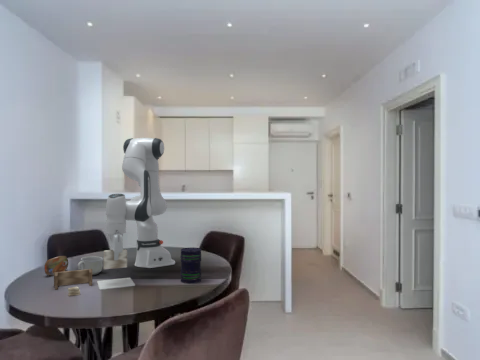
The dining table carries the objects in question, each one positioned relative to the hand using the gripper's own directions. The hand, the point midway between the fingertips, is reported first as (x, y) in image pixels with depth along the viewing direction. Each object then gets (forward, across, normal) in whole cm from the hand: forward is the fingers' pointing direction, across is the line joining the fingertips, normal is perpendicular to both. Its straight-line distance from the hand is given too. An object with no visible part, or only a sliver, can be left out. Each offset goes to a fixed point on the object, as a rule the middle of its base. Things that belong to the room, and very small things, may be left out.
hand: (115, 259), depth 167 cm
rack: (+12, +5, +17) cm, 21 cm away
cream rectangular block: (+4, 0, 0) cm, 4 cm away
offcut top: (+10, -9, +18) cm, 22 cm away
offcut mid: (+11, -8, +17) cm, 22 cm away
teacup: (+12, +24, +10) cm, 28 cm away
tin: (+12, +33, +25) cm, 43 cm away
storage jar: (+11, -9, -33) cm, 36 cm away
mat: (+11, 0, 0) cm, 11 cm away
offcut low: (+12, -8, +17) cm, 23 cm away
